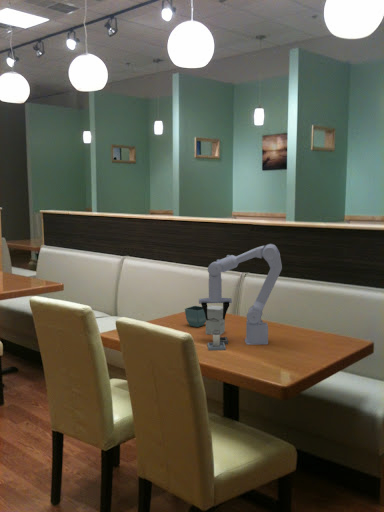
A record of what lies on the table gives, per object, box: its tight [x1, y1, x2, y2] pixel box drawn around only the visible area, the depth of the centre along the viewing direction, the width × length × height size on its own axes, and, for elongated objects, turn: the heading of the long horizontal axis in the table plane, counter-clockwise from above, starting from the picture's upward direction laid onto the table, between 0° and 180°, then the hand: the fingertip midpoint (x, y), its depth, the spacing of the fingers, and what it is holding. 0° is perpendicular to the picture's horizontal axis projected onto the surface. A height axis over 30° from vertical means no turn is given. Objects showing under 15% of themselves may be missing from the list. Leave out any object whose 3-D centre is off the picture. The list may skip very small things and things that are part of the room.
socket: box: [220, 336, 229, 346], centre depth 234 cm, size 6×6×2 cm
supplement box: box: [205, 305, 226, 336], centre depth 250 cm, size 7×7×13 cm
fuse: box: [212, 330, 221, 347], centre depth 227 cm, size 3×3×7 cm
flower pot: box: [184, 305, 206, 328], centre depth 264 cm, size 9×9×9 cm
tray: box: [206, 342, 227, 351], centre depth 227 cm, size 7×7×2 cm
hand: (215, 319), depth 237 cm, fingers open, 7 cm apart
